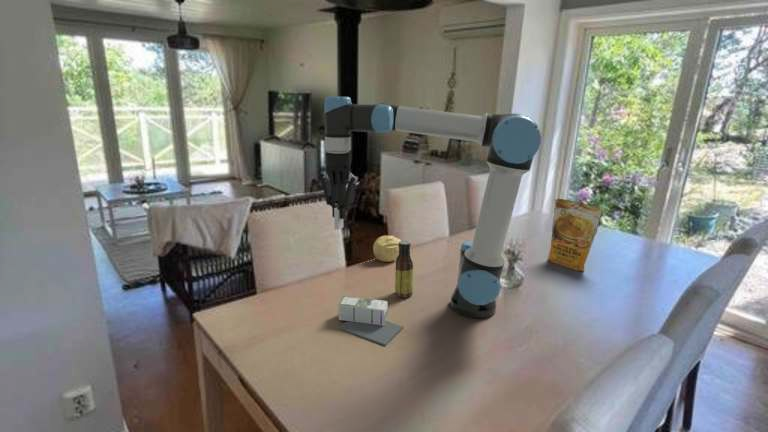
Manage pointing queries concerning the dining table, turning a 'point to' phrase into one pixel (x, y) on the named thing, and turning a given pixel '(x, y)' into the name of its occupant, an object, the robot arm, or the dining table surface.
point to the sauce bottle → (404, 271)
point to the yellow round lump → (386, 248)
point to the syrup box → (363, 310)
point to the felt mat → (373, 331)
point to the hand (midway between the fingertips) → (339, 228)
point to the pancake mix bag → (573, 233)
